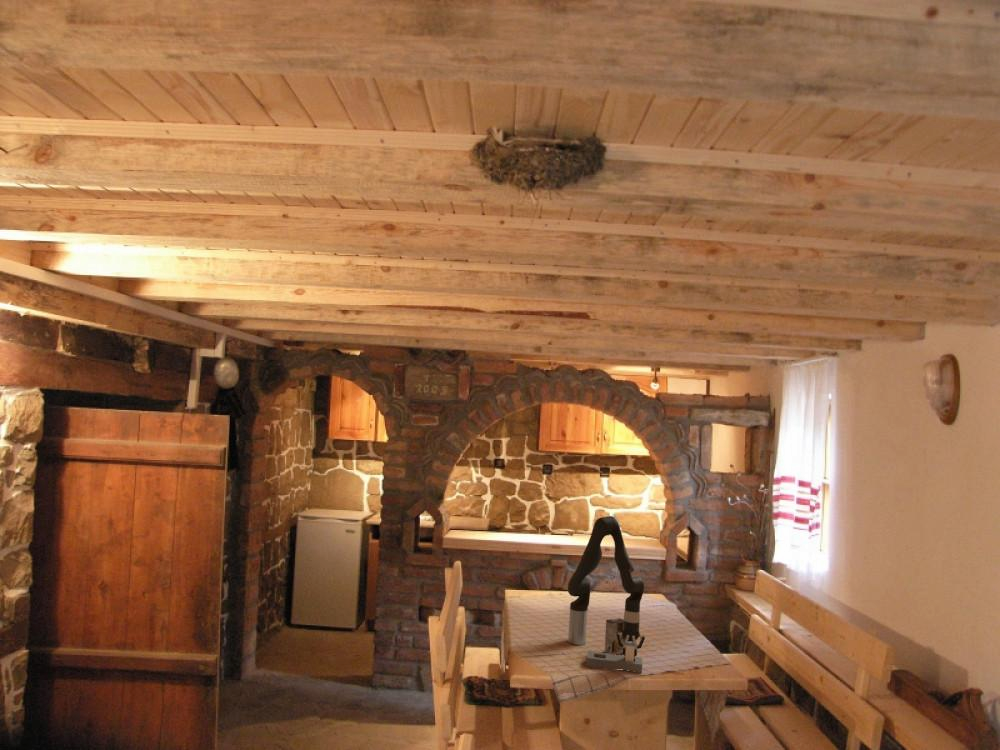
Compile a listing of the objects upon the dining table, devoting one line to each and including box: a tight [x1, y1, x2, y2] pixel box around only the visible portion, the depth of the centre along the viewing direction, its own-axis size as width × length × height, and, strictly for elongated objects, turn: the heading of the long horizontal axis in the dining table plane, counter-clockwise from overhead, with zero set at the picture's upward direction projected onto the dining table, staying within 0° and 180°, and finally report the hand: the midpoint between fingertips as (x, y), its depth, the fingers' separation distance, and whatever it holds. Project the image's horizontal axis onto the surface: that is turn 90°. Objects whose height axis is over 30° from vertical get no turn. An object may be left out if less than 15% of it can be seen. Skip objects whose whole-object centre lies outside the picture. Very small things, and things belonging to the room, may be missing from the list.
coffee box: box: [604, 617, 625, 655], centre depth 385 cm, size 9×6×16 cm
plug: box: [625, 641, 635, 662], centre depth 363 cm, size 4×4×11 cm
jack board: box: [585, 650, 643, 674], centre depth 364 cm, size 10×26×4 cm, turn 80°
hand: (629, 655), depth 363 cm, fingers closed on plug, 4 cm apart
